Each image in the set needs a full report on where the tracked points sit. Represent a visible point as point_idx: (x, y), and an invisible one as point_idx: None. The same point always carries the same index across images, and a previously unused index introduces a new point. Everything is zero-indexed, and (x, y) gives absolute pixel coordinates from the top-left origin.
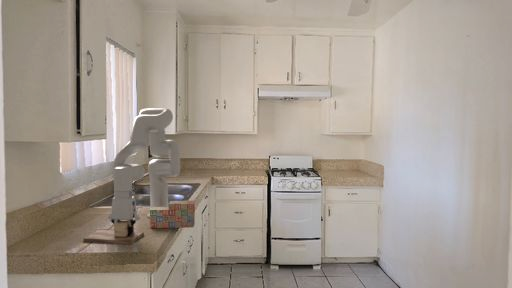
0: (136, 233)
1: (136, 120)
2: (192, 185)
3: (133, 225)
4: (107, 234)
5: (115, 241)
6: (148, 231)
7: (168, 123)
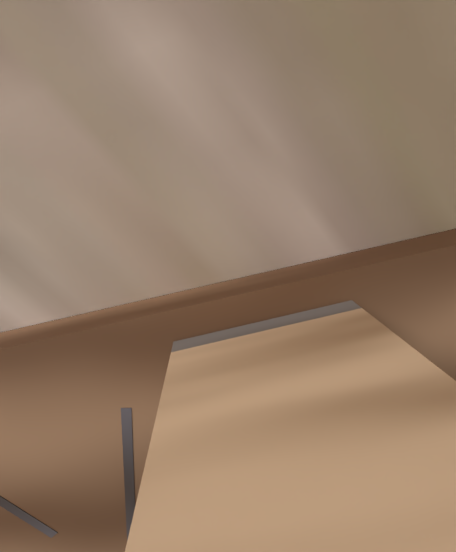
0: (423, 330)
1: None
2: None
3: (425, 368)
4: (51, 512)
5: None
6: (441, 20)
7: None
